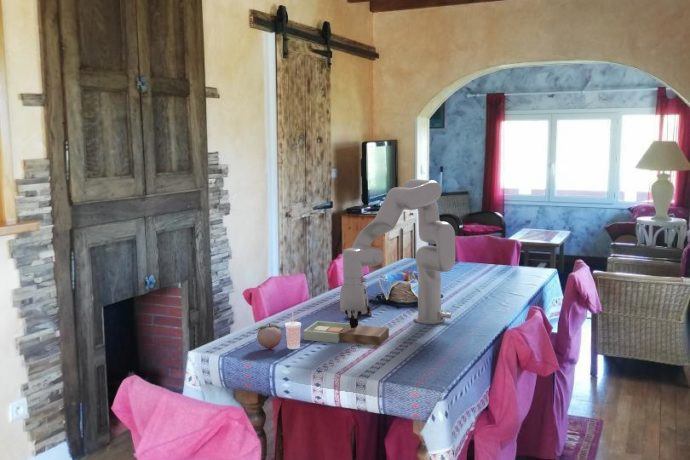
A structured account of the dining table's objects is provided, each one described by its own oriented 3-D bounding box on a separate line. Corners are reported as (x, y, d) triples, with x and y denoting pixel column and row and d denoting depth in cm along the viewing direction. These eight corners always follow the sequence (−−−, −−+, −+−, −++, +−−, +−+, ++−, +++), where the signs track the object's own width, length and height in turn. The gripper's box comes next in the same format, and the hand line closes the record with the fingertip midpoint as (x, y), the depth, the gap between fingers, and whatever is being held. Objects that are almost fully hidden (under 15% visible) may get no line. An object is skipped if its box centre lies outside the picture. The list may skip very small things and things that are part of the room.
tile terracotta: (343, 334, 265) (343, 328, 265) (339, 337, 260) (339, 331, 260) (331, 333, 267) (331, 327, 266) (327, 336, 262) (327, 330, 262)
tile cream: (318, 325, 268) (318, 331, 269) (313, 329, 264) (313, 335, 264) (330, 326, 267) (330, 332, 267) (325, 330, 262) (325, 336, 262)
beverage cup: (286, 344, 255) (285, 308, 253) (302, 344, 254) (301, 308, 252) (284, 349, 248) (283, 312, 247) (301, 349, 248) (300, 312, 246)
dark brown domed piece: (373, 319, 289) (364, 304, 287) (354, 328, 291) (344, 313, 288) (373, 305, 300) (364, 291, 298) (354, 314, 302) (345, 300, 300)
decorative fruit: (261, 354, 244) (260, 327, 242) (255, 348, 251) (254, 321, 250) (286, 350, 247) (285, 324, 246) (279, 344, 255) (278, 318, 253)
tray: (350, 332, 269) (350, 323, 269) (337, 342, 256) (337, 333, 255) (317, 329, 274) (317, 320, 274) (303, 339, 261) (303, 330, 260)
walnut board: (388, 336, 263) (388, 327, 262) (379, 345, 252) (379, 336, 251) (349, 333, 268) (349, 324, 268) (339, 341, 257) (339, 332, 256)
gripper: (374, 279, 259) (375, 326, 262) (338, 277, 264) (339, 323, 267) (368, 284, 252) (369, 331, 255) (331, 281, 257) (332, 328, 260)
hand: (353, 327), depth 261 cm, fingers closed
